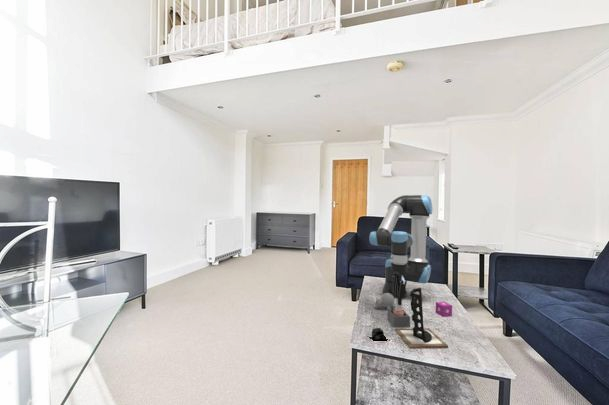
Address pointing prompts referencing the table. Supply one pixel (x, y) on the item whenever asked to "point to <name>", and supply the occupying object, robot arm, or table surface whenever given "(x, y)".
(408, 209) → the robot arm
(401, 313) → the button
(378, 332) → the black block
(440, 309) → the puzzle toy
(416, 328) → the holder
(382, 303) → the round bodied animal figurine
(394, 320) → the button housing
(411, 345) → the board
